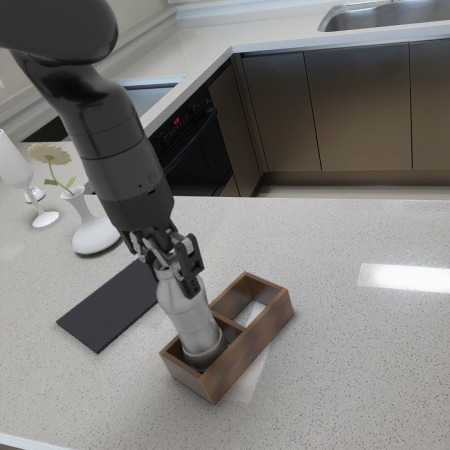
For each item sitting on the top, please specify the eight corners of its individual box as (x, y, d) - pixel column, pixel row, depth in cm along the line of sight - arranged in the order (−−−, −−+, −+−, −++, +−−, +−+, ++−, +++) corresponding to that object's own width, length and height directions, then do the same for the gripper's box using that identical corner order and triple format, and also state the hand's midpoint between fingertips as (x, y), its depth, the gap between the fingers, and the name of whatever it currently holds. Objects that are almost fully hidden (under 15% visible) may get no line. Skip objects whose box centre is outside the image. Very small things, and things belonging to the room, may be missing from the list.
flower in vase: (136, 230, 106) (87, 132, 91) (99, 263, 98) (39, 161, 83) (97, 222, 112) (45, 128, 97) (60, 252, 104) (-2, 155, 89)
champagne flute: (58, 221, 115) (5, 134, 101) (31, 230, 114) (-27, 144, 99) (59, 208, 120) (9, 124, 106) (33, 217, 119) (-22, 133, 105)
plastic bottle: (182, 373, 69) (130, 277, 57) (202, 337, 74) (159, 242, 62) (219, 381, 67) (174, 282, 55) (238, 344, 72) (200, 246, 60)
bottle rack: (214, 405, 66) (201, 381, 62) (171, 376, 71) (158, 352, 68) (294, 314, 77) (287, 289, 74) (252, 294, 83) (244, 270, 79)
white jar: (45, 191, 130) (26, 197, 128) (39, 182, 128) (21, 188, 127) (45, 199, 126) (26, 205, 125) (39, 190, 124) (20, 196, 123)
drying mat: (97, 354, 78) (96, 352, 77) (56, 323, 85) (55, 321, 85) (184, 279, 89) (183, 276, 89) (141, 258, 97) (140, 255, 97)
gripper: (66, 183, 53) (123, 287, 63) (140, 213, 45) (193, 326, 55) (119, 152, 57) (165, 254, 67) (196, 174, 49) (235, 286, 59)
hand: (177, 286), depth 61 cm, fingers closed on plastic bottle, 6 cm apart
